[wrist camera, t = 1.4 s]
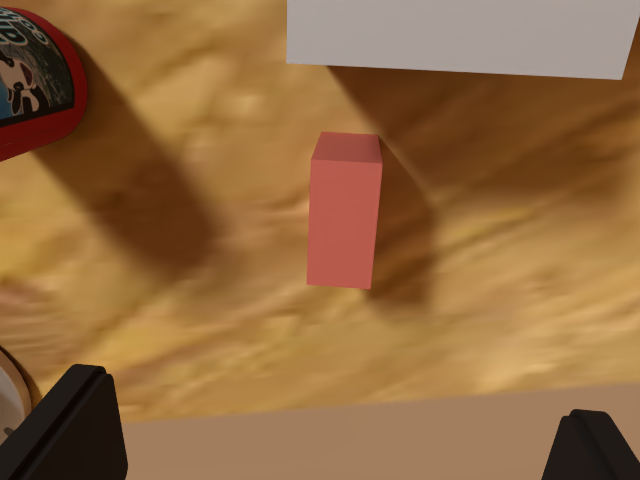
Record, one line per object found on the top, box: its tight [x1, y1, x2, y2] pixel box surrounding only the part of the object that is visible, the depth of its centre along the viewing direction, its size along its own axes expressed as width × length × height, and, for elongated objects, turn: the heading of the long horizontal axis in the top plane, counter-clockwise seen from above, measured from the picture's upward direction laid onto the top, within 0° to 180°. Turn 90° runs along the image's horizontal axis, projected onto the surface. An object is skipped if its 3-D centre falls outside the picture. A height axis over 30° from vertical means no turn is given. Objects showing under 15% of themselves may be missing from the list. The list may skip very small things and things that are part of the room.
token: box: [307, 132, 383, 289], centre depth 24 cm, size 6×3×6 cm, turn 178°
